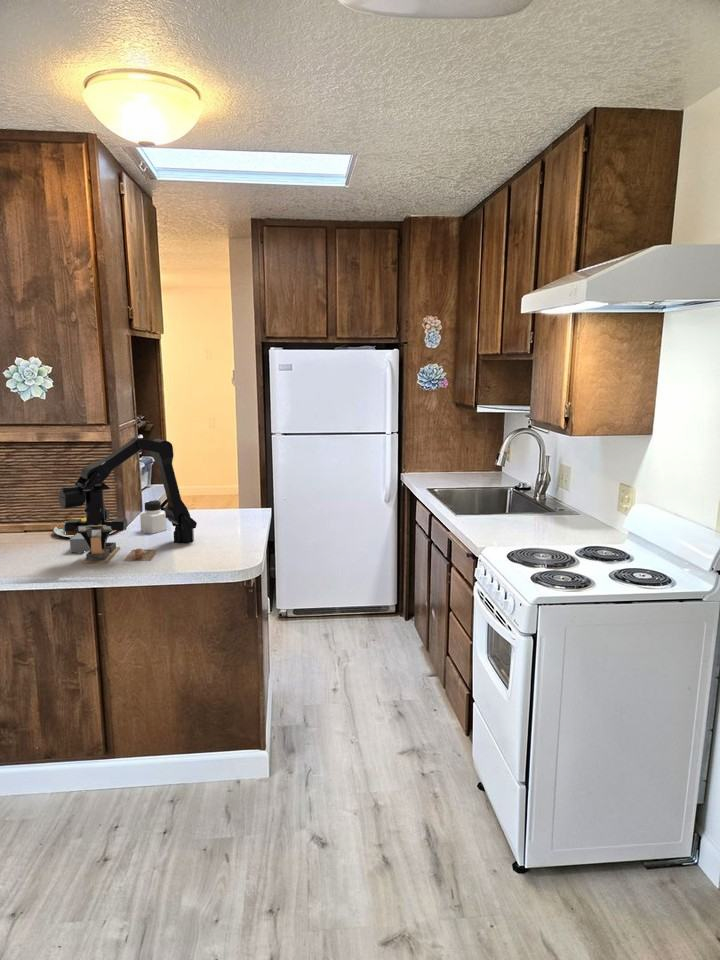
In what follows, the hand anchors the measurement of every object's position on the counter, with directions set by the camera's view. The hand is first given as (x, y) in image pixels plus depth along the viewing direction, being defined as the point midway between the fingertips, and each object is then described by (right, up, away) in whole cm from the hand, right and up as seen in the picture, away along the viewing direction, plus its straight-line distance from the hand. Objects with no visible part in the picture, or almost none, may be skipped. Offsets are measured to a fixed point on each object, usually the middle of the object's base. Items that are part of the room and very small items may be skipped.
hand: (97, 549), depth 209 cm
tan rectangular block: (0, -1, 0) cm, 2 cm away
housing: (-11, -1, +16) cm, 19 cm away
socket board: (0, -3, +5) cm, 6 cm away
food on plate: (-19, +2, +38) cm, 42 cm away
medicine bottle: (+6, +3, +40) cm, 40 cm away
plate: (+12, -3, +6) cm, 14 cm away
